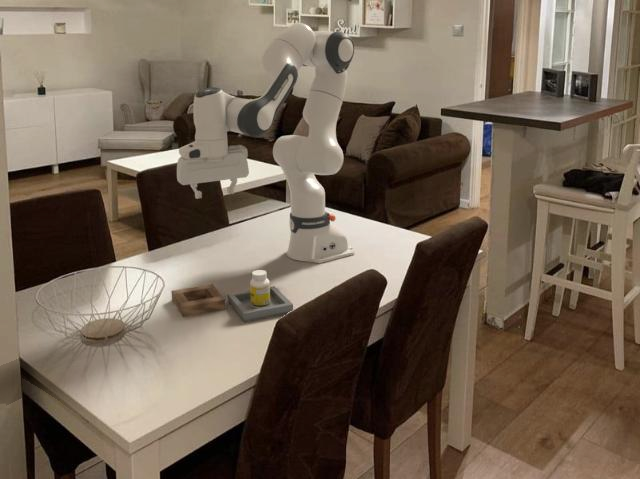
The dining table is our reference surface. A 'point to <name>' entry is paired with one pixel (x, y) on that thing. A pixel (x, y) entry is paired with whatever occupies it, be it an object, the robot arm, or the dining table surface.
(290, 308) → the charcoal tray
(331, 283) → the dining table surface
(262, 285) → the supplement bottle
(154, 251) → the dining table surface
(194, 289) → the walnut collar
